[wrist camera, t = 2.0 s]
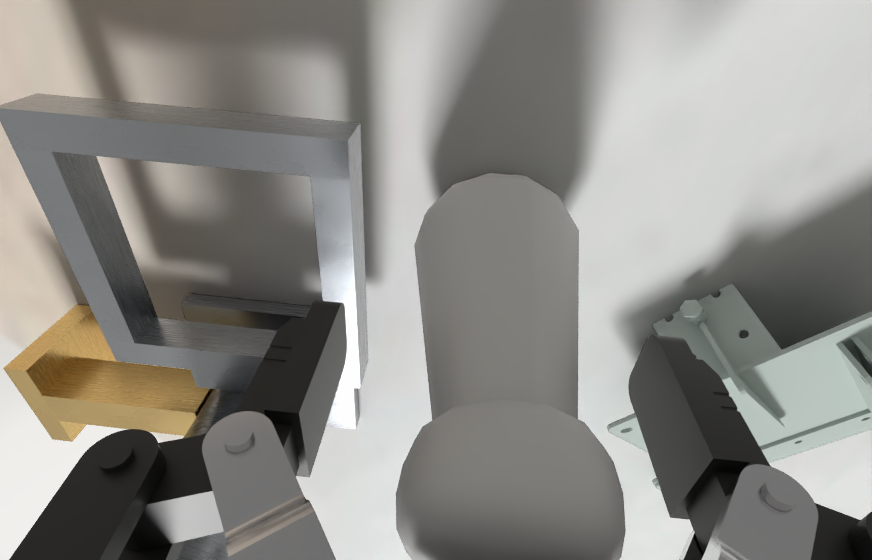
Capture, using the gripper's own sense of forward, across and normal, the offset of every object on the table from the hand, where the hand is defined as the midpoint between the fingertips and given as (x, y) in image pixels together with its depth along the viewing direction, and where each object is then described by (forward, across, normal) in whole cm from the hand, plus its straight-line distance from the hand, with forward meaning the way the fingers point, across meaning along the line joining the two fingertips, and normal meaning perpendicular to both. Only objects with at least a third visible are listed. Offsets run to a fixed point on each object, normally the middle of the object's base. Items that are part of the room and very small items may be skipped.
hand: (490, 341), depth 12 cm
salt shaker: (+8, 0, 0) cm, 8 cm away
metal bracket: (+8, -14, +8) cm, 18 cm away
